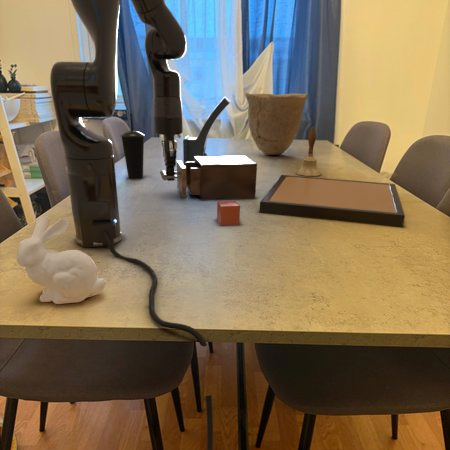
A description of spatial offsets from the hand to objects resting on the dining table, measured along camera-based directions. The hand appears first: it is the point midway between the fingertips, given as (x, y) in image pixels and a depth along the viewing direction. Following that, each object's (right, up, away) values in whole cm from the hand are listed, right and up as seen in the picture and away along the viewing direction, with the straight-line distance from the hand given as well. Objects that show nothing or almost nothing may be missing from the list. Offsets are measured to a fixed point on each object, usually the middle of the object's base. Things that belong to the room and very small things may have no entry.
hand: (170, 180), depth 124 cm
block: (+16, -15, -19) cm, 29 cm away
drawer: (+7, -2, +3) cm, 8 cm away
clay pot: (+37, +30, +69) cm, 84 cm away
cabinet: (+15, -3, +5) cm, 16 cm away
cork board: (+46, -6, 0) cm, 47 cm away
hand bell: (+46, +11, +34) cm, 58 cm away
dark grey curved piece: (+8, +18, +45) cm, 49 cm away
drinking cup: (-15, +7, +22) cm, 27 cm away
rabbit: (-11, -34, -54) cm, 65 cm away
